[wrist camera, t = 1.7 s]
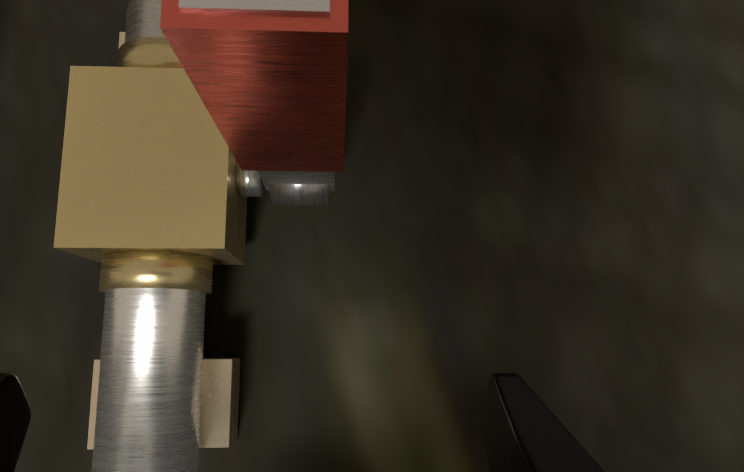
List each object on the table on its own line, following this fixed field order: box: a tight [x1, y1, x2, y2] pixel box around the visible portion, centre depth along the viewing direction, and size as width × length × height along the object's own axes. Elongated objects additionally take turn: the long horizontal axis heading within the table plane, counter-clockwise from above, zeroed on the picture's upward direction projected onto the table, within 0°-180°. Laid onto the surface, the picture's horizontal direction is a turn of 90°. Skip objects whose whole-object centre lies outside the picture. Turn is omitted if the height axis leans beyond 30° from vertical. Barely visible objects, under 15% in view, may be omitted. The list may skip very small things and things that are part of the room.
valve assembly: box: [54, 0, 264, 472], centre depth 21 cm, size 16×6×5 cm, turn 0°
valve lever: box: [160, 0, 348, 206], centre depth 16 cm, size 2×3×13 cm
